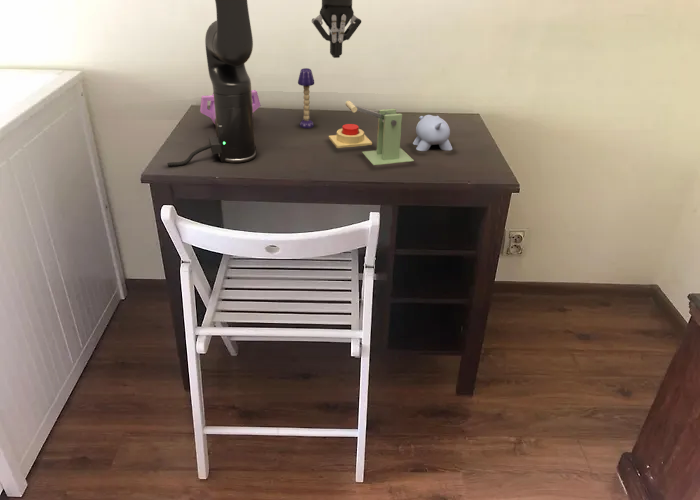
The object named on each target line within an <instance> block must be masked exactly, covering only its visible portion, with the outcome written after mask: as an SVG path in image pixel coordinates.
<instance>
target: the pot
mask: <svg viewBox="0 0 700 500" xmlns="http://www.w3.org/2000/svg"><path fill="white" fill-rule="evenodd" d="M251 91H252V108H253V113H255V112H256V111H257V110H258V109H259V108H260V107H261V106H262V105H261V101H260V98H259V94H258V91H257V90H256V89H251ZM208 102H210V103H209V108H208ZM199 112H200V113H201V114H202V115H203V116H205V117H208V118H210V120H211V121H212V123H213V124H214V125H215V118H216V116H215V105H214V94H213V93H212V95H201V98H200V108H199Z"/></svg>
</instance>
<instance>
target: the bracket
mask: <svg viewBox="0 0 700 500" xmlns="http://www.w3.org/2000/svg"><path fill="white" fill-rule="evenodd" d="M385 112H387V113H390V114H389V115H384V114H385ZM377 113H380V114H383V115H384V122H383V121H382V119H380V118H377V132H376V134H377V135H376V150H365V151H361V153H362V154H363V155H364V157H365V159H367V160H368V161H369V162H370V163H371V164H372V166H382V165H391V164H403V163H409V162H410V163H411V162H415V160H414V159H413V158H412V157H411V156H410V155H409V154H408V153H407V152H406V151H405V150H403V148H402V147H401V137H402V123H403V114H402V113H397V109H396V108H385V109H378V112H377Z"/></svg>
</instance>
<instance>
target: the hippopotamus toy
mask: <svg viewBox="0 0 700 500" xmlns="http://www.w3.org/2000/svg"><path fill="white" fill-rule="evenodd" d="M418 119H419V121H417V122H418V123H417V124H416V127H415V133H416V137H415V138H414V141H413V142H412V144H413V145H414V146H416V148H415V150H416V151H419V152H420V151H421V152H427V151H429V150H430V149H431V146H435V145H438V147H439V148H440V150H442V151H452V150H453V146H452V144H451V141H450V140H449V138H450V135H451V129H450V126H449V124H448V123H447V121H446V120H444V119H443V118H441V117H440V116H439V115H432V114H426V115H420V116H419V117H418Z"/></svg>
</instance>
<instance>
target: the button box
mask: <svg viewBox="0 0 700 500" xmlns="http://www.w3.org/2000/svg"><path fill="white" fill-rule="evenodd" d="M328 139H329V140H330V142H331V143H332V144H333V145H334V146H335V148H336V149H342V148H344V149H345V148H353V147H363V146H372V145H373V142H372V140H370V139H369V137H368V136H367V135H366V134H365V131H364V130H363V129H360V128H359V133H358V134H357V135H345V134H342V128H339V129H337V131H336V134H334V135H328Z"/></svg>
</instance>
